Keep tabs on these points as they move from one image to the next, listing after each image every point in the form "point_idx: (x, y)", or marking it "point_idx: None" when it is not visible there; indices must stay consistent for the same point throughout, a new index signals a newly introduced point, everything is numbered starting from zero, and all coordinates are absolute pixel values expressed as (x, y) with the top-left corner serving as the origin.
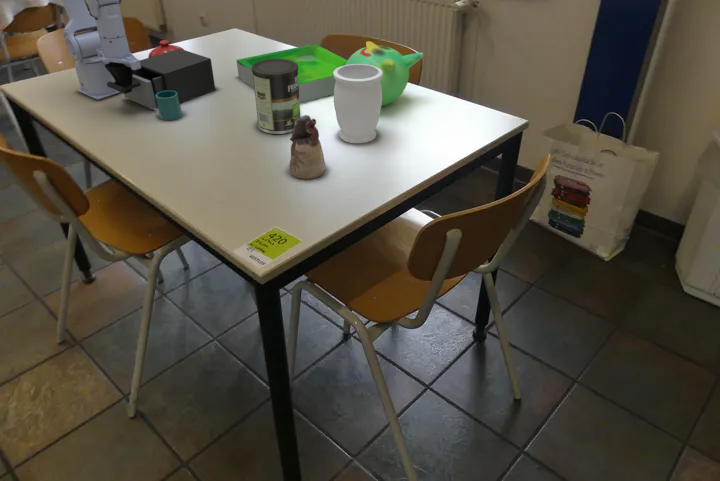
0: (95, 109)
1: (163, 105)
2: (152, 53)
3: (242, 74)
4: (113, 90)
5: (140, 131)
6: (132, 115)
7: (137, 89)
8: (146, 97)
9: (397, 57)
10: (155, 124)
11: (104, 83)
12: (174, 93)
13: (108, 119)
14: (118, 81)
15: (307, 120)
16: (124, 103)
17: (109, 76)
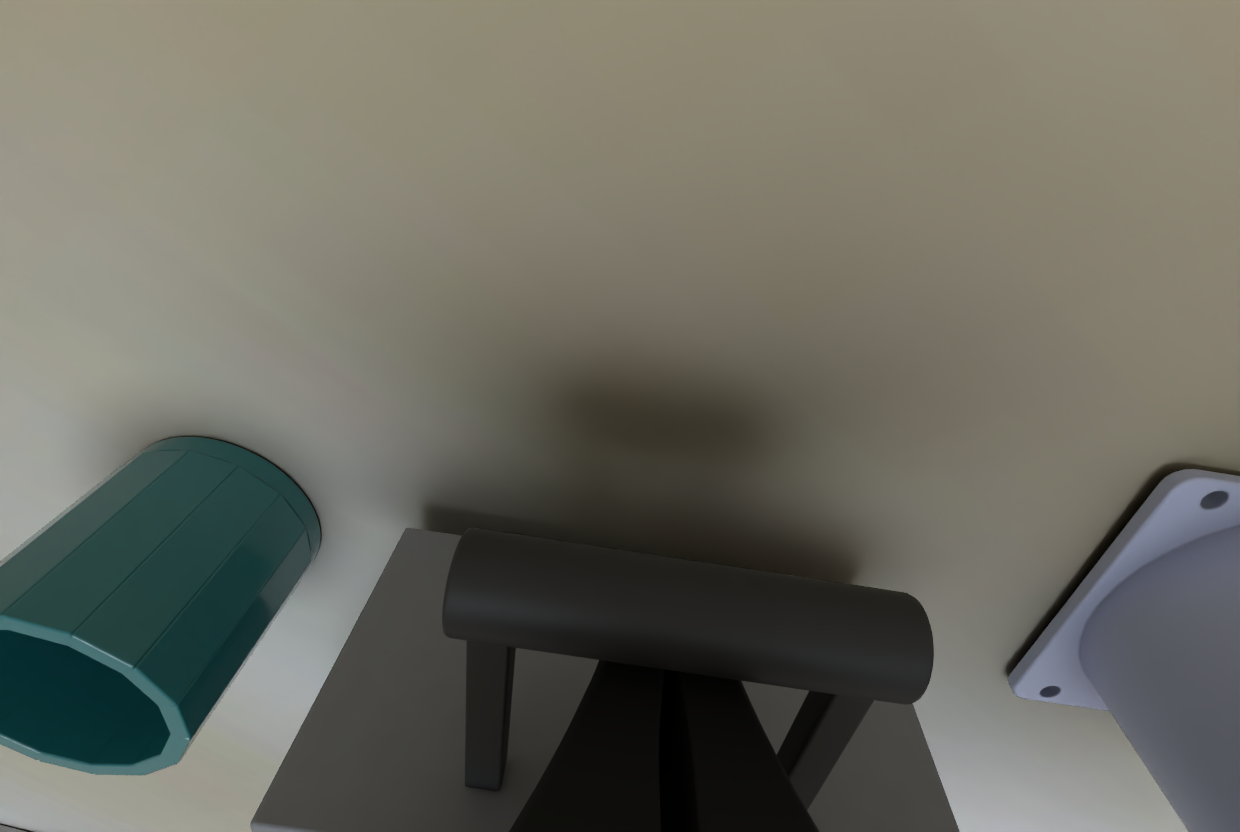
0: (1052, 285)
1: (25, 547)
2: None
3: None
4: (1093, 647)
5: (38, 103)
6: (519, 371)
7: (581, 693)
8: (438, 619)
9: None
10: (133, 328)
11: (1214, 690)
12: (105, 742)
13: (668, 150)
14: (641, 734)
15: None
16: (826, 524)
17: (1206, 804)
